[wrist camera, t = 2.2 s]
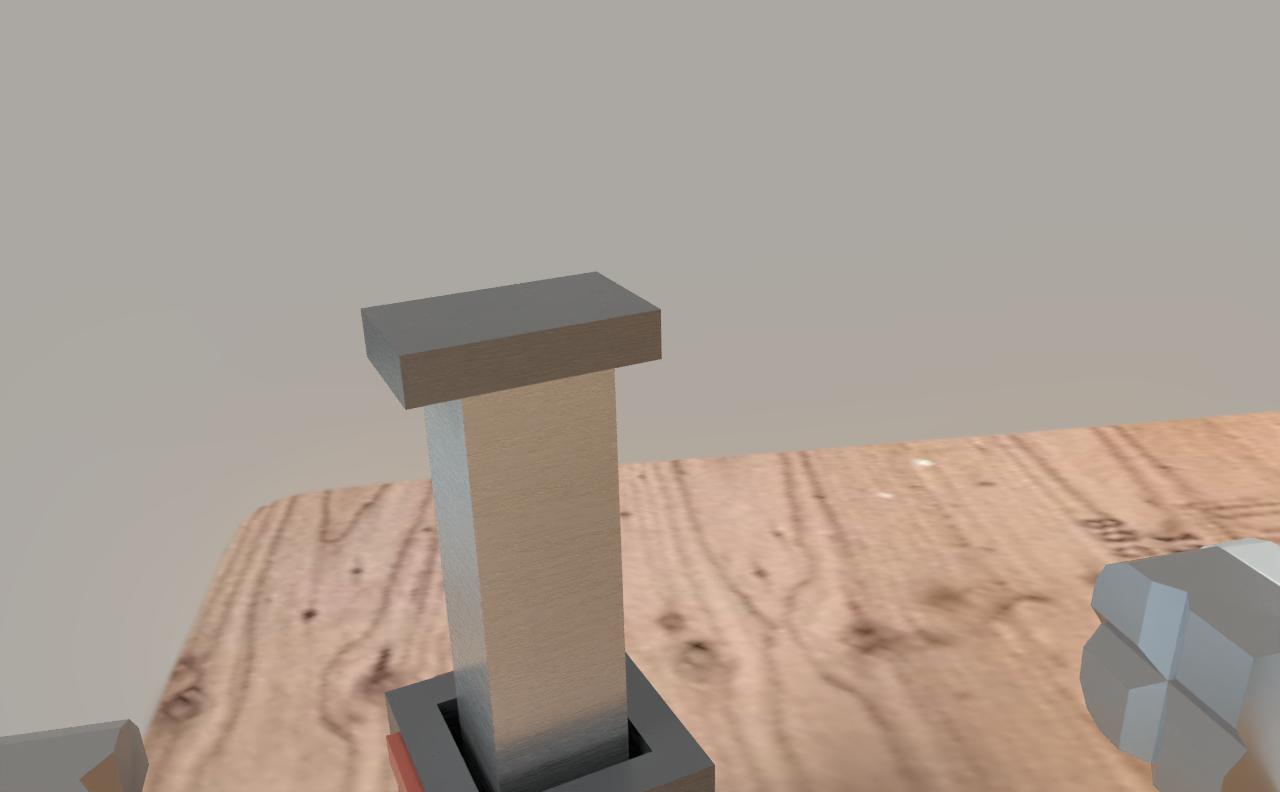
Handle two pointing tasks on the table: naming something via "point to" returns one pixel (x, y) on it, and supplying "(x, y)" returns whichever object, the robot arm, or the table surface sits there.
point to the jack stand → (638, 788)
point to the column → (526, 510)
